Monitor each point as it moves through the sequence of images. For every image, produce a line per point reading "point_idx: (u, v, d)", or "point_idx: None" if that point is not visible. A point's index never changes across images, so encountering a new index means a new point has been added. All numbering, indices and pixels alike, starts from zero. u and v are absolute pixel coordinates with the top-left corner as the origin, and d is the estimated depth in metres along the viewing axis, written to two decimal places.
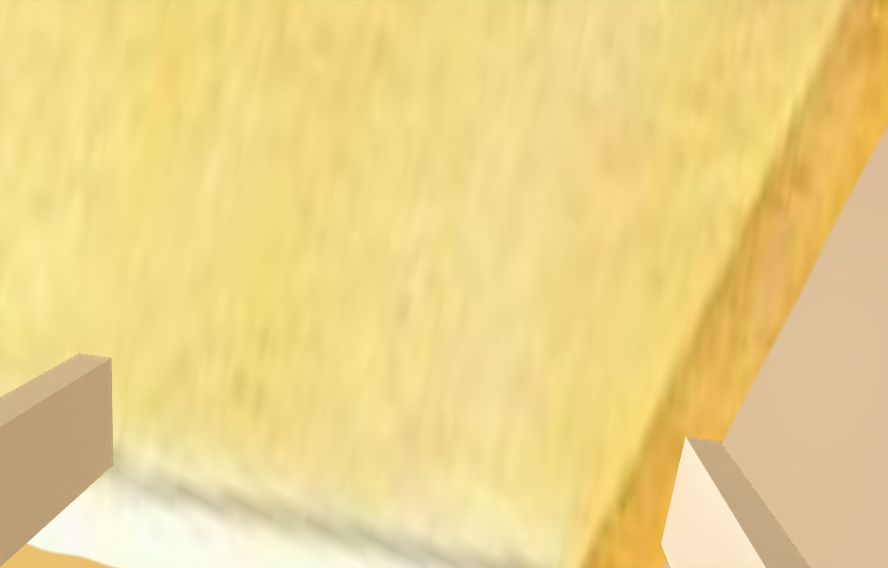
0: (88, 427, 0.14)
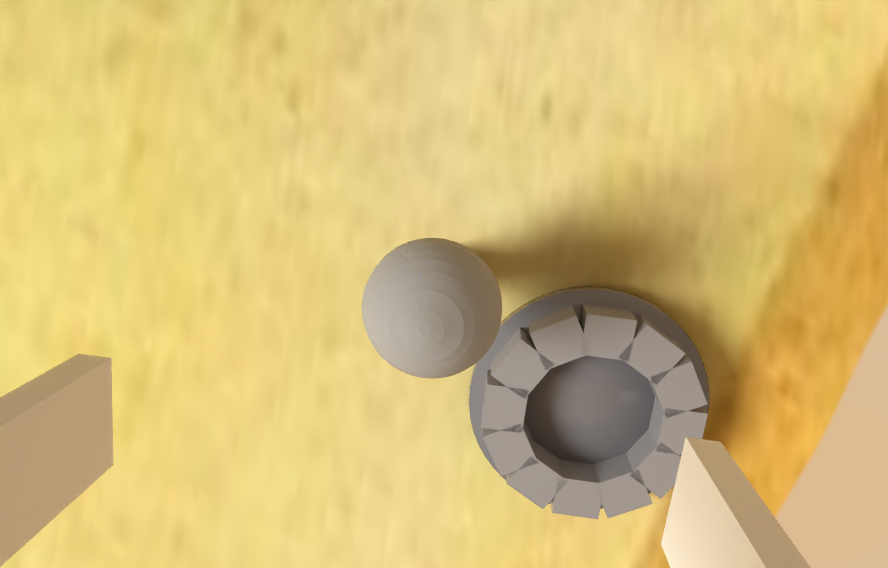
0: (88, 427, 0.14)
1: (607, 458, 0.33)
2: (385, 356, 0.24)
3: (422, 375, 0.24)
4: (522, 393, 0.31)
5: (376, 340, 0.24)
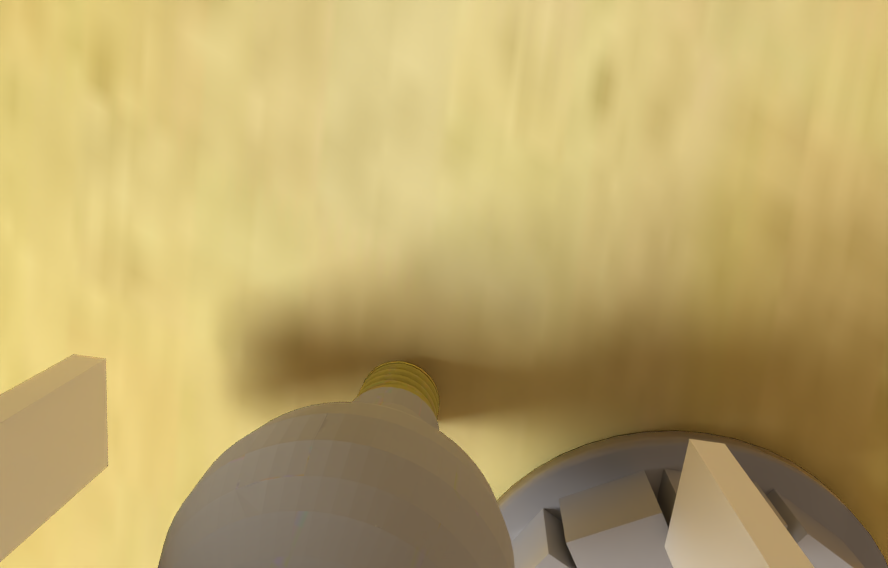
0: (82, 428, 0.14)
1: None
2: None
3: None
4: None
5: None
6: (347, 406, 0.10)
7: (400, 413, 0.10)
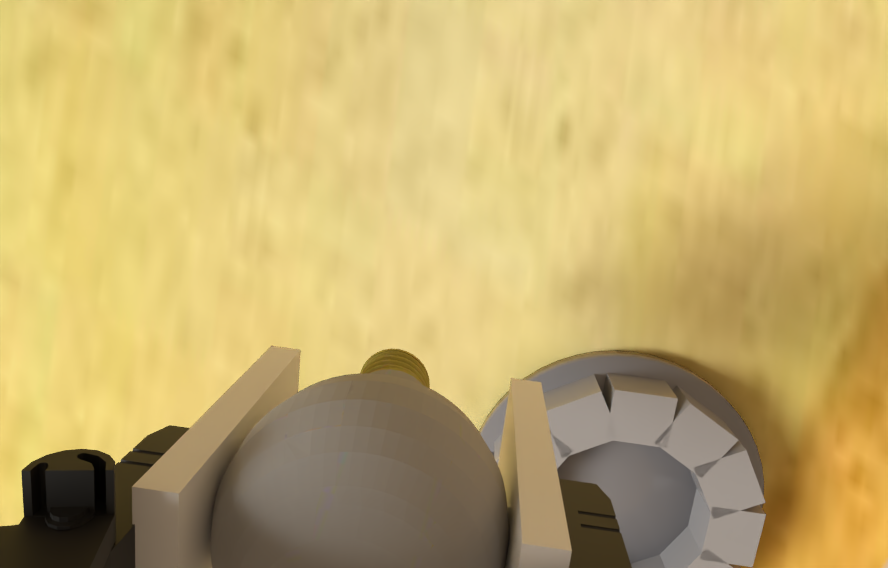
0: None
1: (636, 560, 0.27)
2: None
3: None
4: None
5: None
6: (366, 376, 0.12)
7: (410, 381, 0.12)
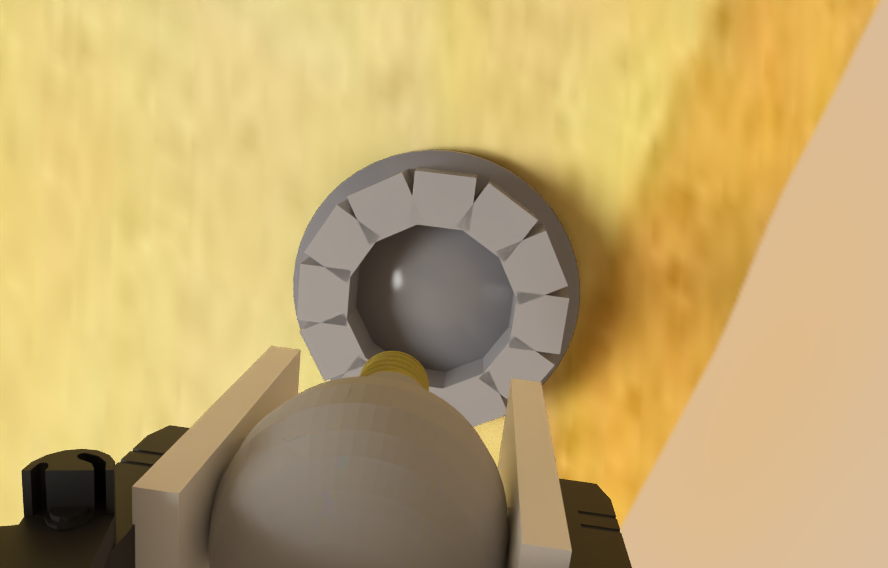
0: None
1: (461, 363, 0.27)
2: None
3: None
4: (342, 275, 0.25)
5: None
6: (365, 378, 0.12)
7: (409, 384, 0.12)
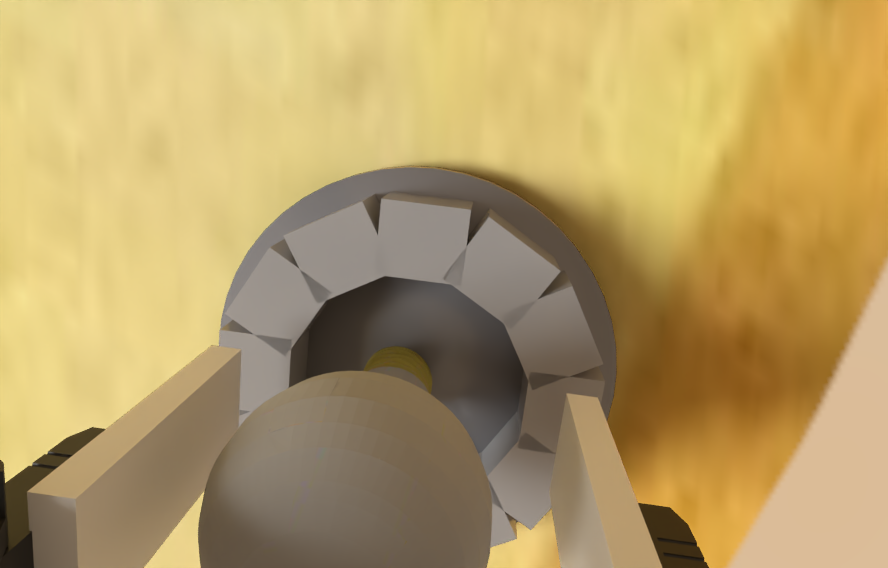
0: (225, 412, 0.15)
1: None
2: None
3: None
4: (280, 346, 0.17)
5: None
6: (354, 373, 0.12)
7: (398, 379, 0.13)
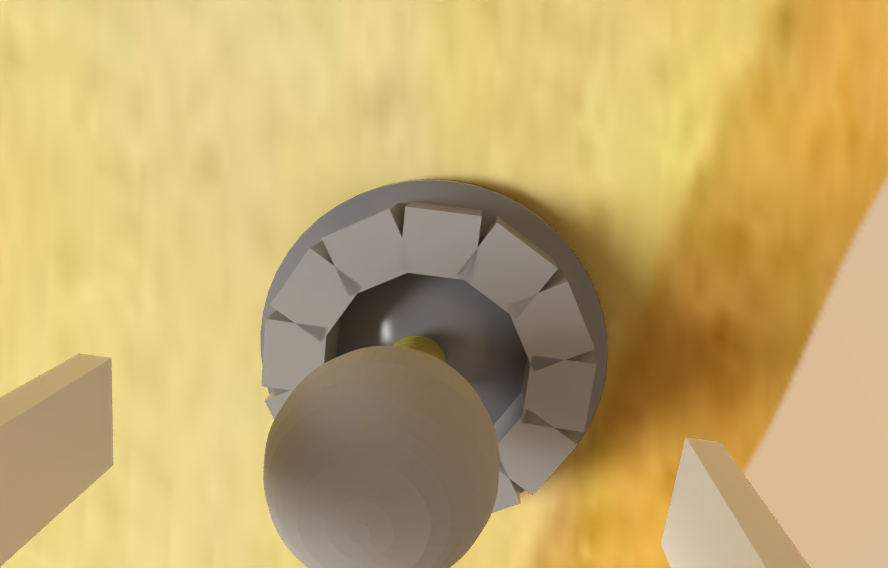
0: (88, 427, 0.14)
1: None
2: (298, 558, 0.14)
3: None
4: (317, 333, 0.20)
5: (281, 534, 0.14)
6: (387, 346, 0.15)
7: (423, 352, 0.15)
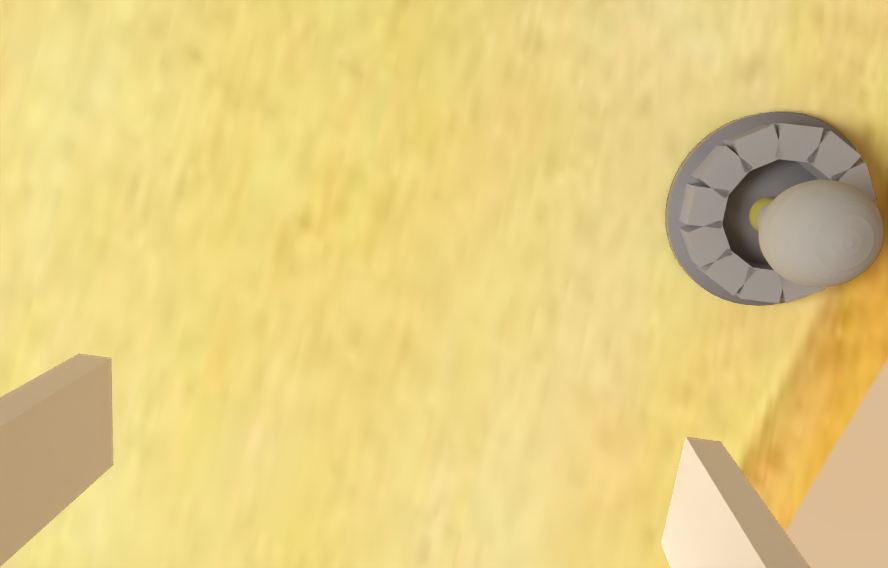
0: (88, 427, 0.14)
1: None
2: (797, 267, 0.32)
3: (824, 282, 0.32)
4: (723, 193, 0.38)
5: (794, 254, 0.31)
6: None
7: None
